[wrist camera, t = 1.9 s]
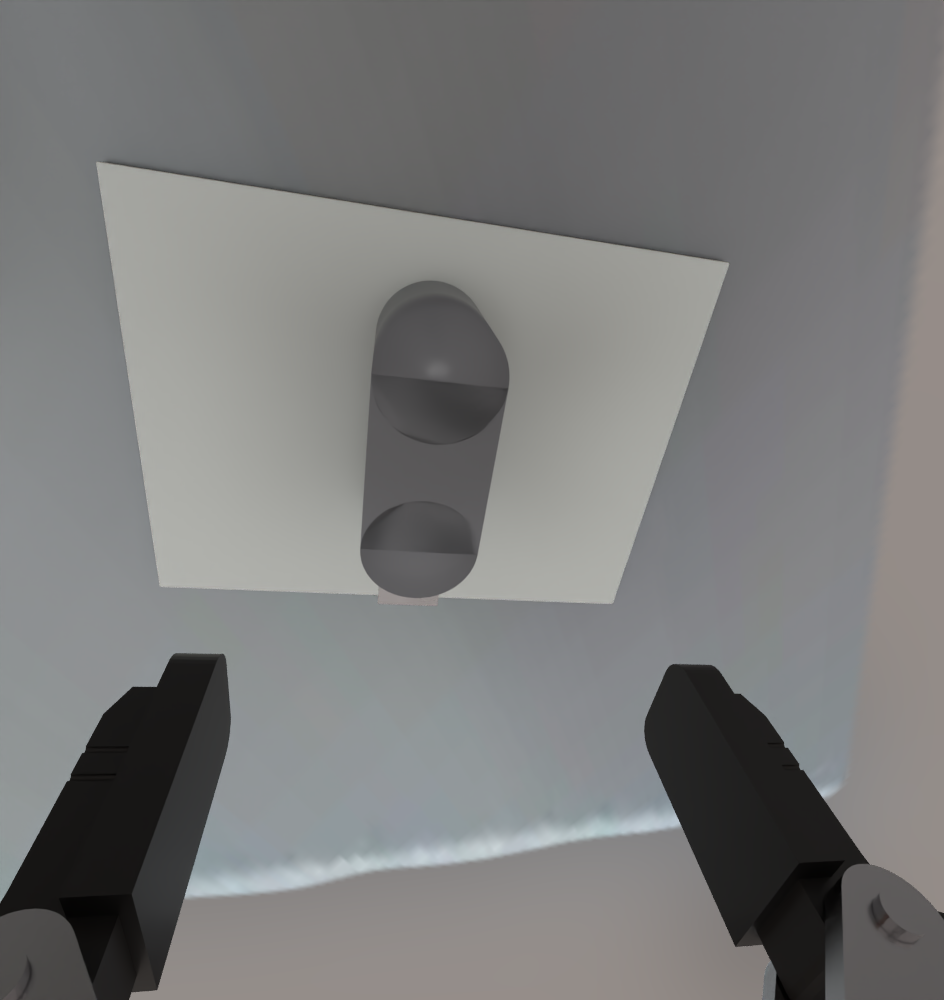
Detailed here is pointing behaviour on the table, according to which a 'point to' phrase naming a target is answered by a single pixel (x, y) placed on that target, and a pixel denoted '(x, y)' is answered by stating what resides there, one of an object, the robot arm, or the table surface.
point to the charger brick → (429, 442)
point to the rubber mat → (347, 378)
